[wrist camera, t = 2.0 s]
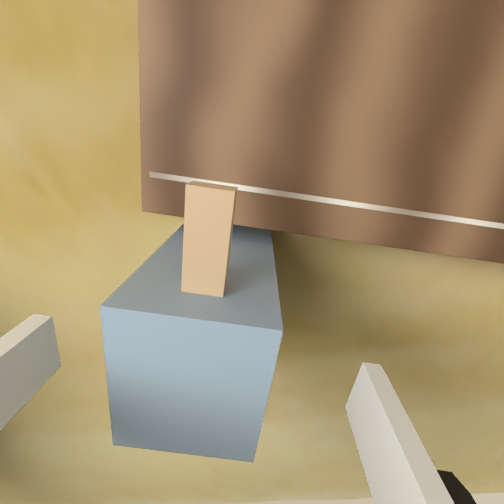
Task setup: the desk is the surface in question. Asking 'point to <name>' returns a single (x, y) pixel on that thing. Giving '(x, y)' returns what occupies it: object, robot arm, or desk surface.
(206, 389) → the pale blue block
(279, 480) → the desk surface
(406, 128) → the plank
